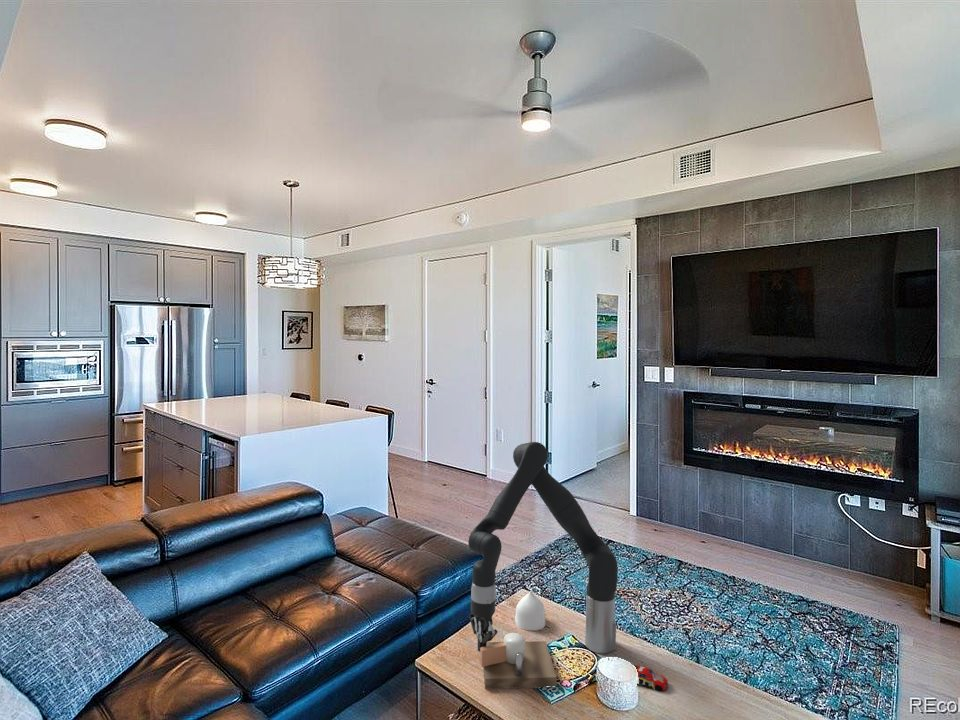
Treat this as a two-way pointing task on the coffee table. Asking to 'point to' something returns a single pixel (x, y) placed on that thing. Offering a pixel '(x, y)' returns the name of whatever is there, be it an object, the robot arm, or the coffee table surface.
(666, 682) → the race car
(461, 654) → the coffee table surface
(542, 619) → the teardrop
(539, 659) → the base
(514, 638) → the white cylinder with panel
